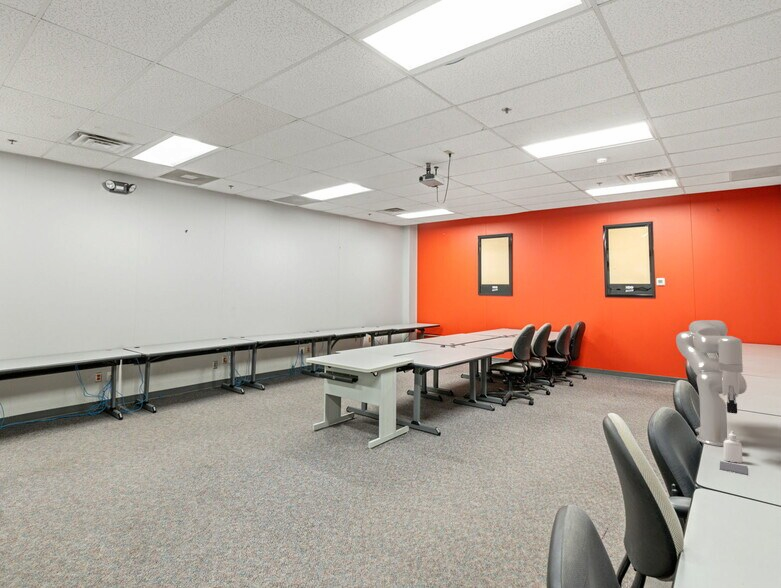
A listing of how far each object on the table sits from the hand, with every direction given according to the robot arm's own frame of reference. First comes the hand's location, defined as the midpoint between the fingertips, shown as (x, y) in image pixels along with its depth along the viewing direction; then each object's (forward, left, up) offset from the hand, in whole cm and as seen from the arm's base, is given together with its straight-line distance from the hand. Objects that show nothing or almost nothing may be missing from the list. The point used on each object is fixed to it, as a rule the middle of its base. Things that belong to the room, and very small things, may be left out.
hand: (732, 412), depth 167 cm
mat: (+10, -9, -18) cm, 23 cm away
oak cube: (-5, +5, -19) cm, 20 cm away
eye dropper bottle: (+3, -3, -19) cm, 19 cm away
